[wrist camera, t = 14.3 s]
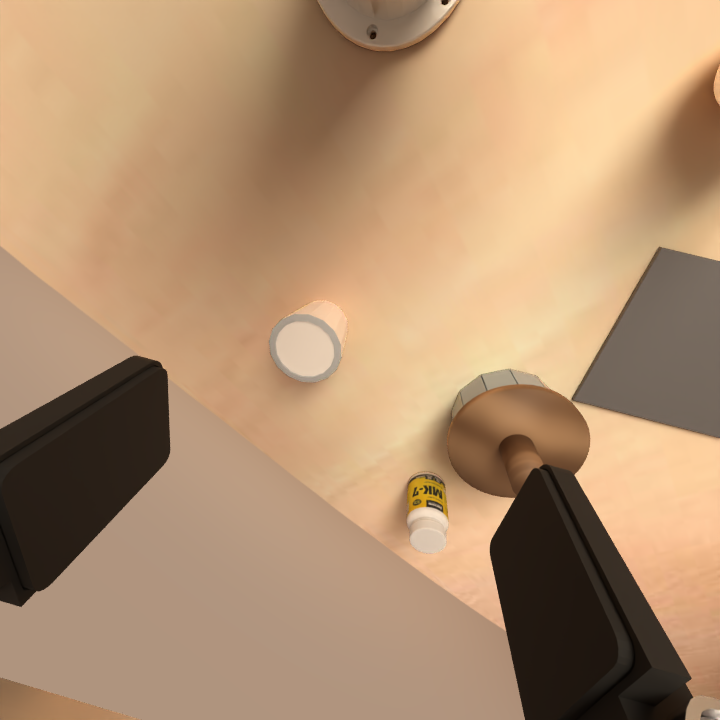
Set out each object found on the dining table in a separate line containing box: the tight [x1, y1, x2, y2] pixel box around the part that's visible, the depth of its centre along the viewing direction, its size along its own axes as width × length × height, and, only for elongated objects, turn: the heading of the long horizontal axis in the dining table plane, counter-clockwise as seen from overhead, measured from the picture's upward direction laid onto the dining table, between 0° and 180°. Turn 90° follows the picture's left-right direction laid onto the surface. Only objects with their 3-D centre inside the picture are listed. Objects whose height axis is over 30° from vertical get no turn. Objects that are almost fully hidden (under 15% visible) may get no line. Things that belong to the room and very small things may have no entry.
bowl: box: [451, 369, 549, 420], centre depth 37 cm, size 11×11×5 cm
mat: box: [572, 247, 720, 438], centre depth 33 cm, size 16×16×1 cm
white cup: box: [269, 300, 348, 382], centre depth 35 cm, size 7×7×7 cm
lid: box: [447, 384, 590, 498], centre depth 32 cm, size 13×13×6 cm
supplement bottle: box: [407, 472, 449, 554], centre depth 41 cm, size 5×5×8 cm
